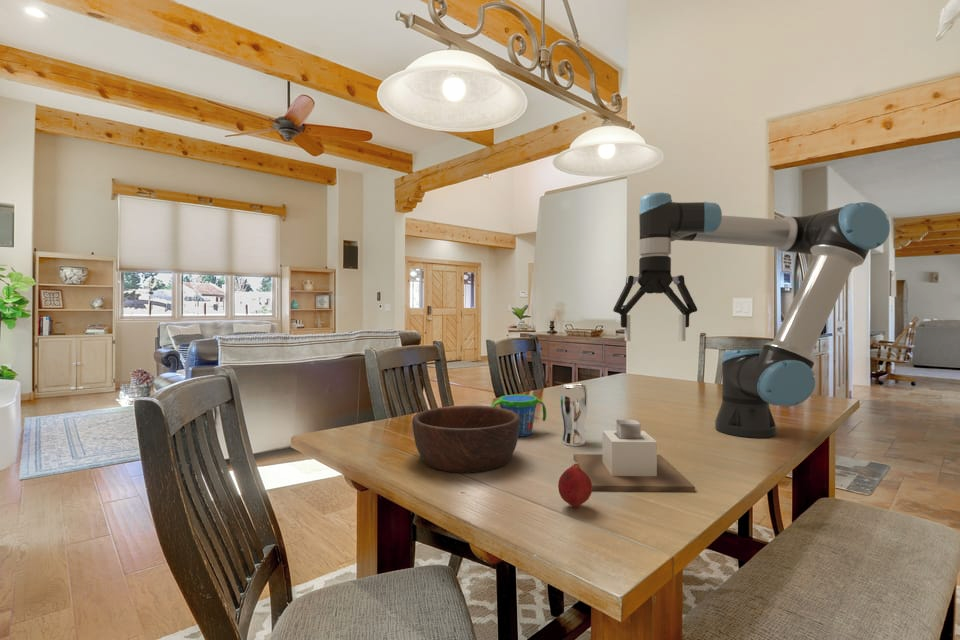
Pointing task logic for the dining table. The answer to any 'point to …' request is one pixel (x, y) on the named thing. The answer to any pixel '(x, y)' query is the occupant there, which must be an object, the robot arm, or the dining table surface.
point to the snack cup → (522, 410)
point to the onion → (575, 486)
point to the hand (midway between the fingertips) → (654, 340)
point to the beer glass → (573, 413)
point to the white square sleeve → (629, 455)
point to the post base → (605, 481)
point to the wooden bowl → (466, 437)
